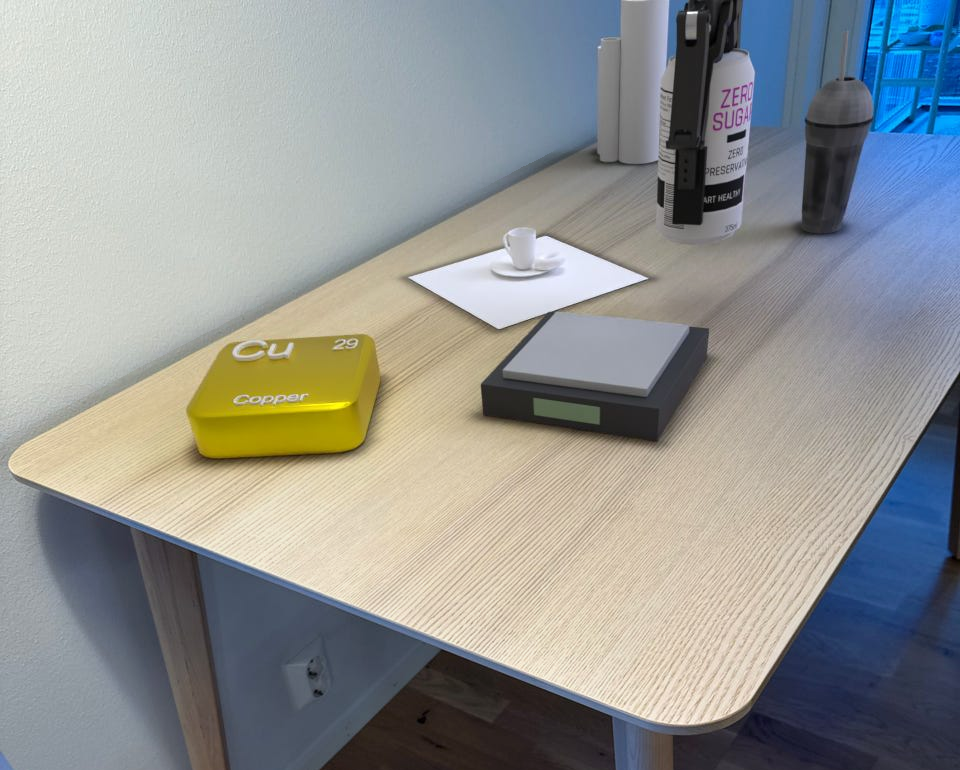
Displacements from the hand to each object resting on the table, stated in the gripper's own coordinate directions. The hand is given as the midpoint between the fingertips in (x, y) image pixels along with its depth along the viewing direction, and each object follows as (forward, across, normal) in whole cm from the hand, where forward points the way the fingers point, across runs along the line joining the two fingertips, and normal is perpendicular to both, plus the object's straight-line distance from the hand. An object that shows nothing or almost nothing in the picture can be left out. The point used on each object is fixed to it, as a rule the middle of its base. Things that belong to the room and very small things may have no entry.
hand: (699, 208), depth 88 cm
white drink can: (+2, 0, 0) cm, 2 cm away
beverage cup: (+10, -26, +8) cm, 29 cm away
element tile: (+9, +33, -28) cm, 45 cm away
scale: (+10, +20, -4) cm, 22 cm away
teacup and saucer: (+9, -3, -20) cm, 23 cm away
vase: (+9, -52, -24) cm, 58 cm away
